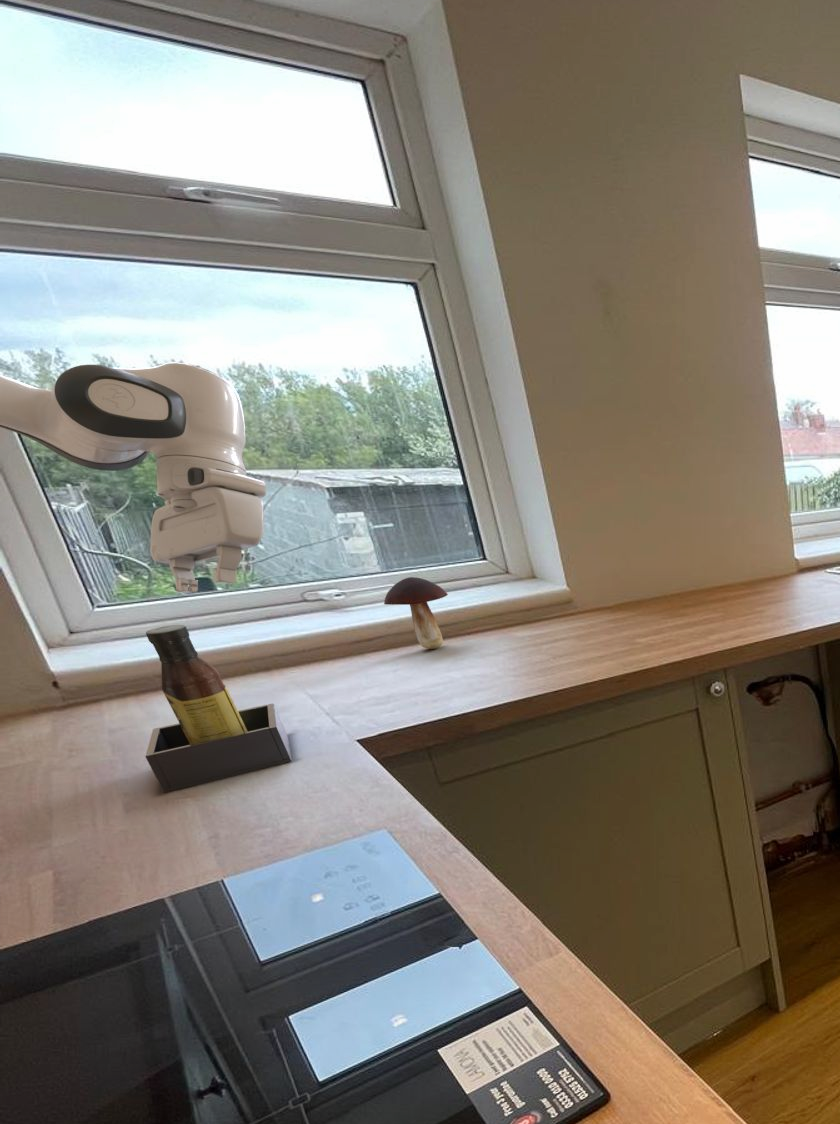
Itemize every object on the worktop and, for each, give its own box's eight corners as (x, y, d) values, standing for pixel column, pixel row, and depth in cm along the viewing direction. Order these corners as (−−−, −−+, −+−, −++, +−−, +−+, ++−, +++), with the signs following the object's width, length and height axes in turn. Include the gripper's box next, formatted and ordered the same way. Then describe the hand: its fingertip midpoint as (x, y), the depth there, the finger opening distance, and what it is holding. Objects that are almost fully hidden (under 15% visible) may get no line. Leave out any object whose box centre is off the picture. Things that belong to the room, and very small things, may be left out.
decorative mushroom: (475, 642, 172) (452, 572, 166) (425, 658, 163) (399, 585, 157) (439, 639, 176) (416, 570, 170) (389, 654, 167) (362, 582, 160)
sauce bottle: (215, 753, 120) (153, 624, 112) (265, 747, 122) (207, 618, 114) (190, 772, 114) (122, 636, 106) (242, 764, 116) (180, 630, 108)
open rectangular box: (164, 793, 109) (145, 756, 107) (170, 763, 119) (152, 728, 117) (291, 761, 117) (276, 726, 115) (287, 735, 127) (273, 703, 125)
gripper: (132, 495, 112) (135, 594, 112) (214, 466, 105) (217, 572, 104) (192, 507, 118) (194, 601, 118) (273, 481, 111) (276, 581, 110)
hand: (205, 587), depth 111 cm, fingers open, 8 cm apart
